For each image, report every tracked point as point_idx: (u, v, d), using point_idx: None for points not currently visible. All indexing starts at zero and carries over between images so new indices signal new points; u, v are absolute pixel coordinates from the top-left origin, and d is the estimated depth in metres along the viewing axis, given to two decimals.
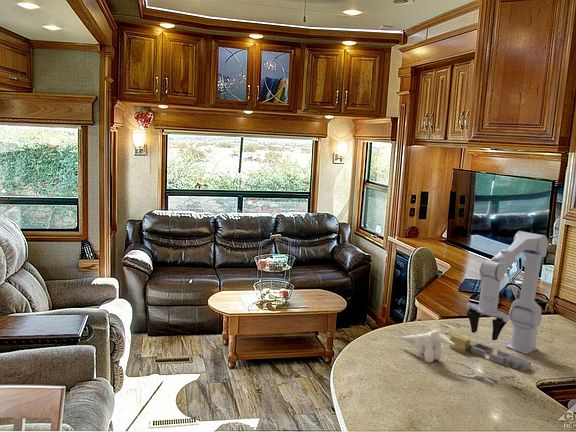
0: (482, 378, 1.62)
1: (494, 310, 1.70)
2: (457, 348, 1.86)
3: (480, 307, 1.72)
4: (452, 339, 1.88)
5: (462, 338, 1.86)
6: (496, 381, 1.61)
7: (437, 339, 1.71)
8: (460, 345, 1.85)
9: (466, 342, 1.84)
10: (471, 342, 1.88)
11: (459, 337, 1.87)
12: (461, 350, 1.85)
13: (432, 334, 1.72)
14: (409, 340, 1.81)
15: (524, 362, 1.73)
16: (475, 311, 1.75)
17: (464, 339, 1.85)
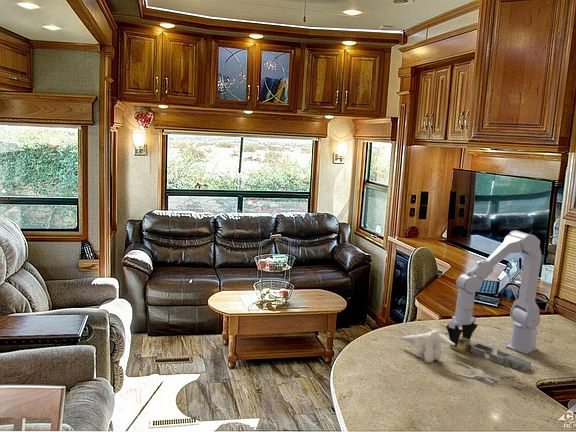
0: (482, 378, 1.62)
1: (457, 318, 1.84)
2: (457, 348, 1.86)
3: None
4: None
5: (462, 338, 1.86)
6: (496, 381, 1.61)
7: (437, 339, 1.71)
8: (460, 345, 1.85)
9: (466, 342, 1.84)
10: (471, 342, 1.88)
11: (459, 337, 1.87)
12: (461, 350, 1.85)
13: (432, 334, 1.72)
14: (409, 340, 1.81)
15: (524, 362, 1.73)
16: None
17: (464, 339, 1.85)
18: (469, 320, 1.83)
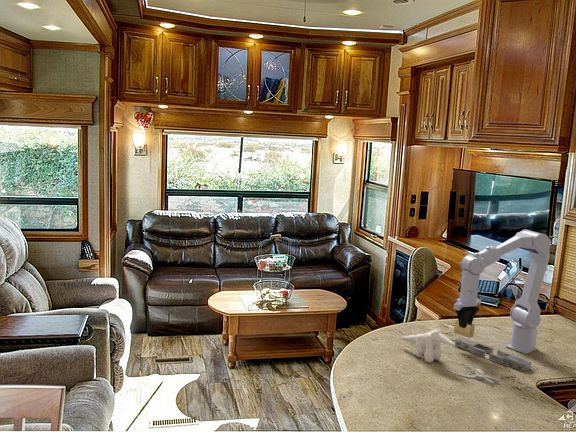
0: (482, 378, 1.62)
1: (462, 300, 1.83)
2: (461, 333, 1.85)
3: None
4: (456, 324, 1.87)
5: None
6: (496, 381, 1.61)
7: (437, 339, 1.71)
8: (465, 329, 1.84)
9: (471, 326, 1.83)
10: (471, 342, 1.88)
11: None
12: (465, 335, 1.84)
13: (432, 334, 1.72)
14: (409, 340, 1.81)
15: (524, 362, 1.73)
16: None
17: (469, 324, 1.84)
18: (474, 302, 1.82)
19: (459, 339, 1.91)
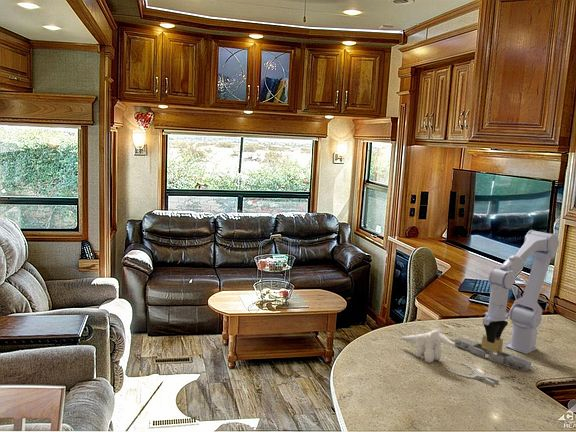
0: (483, 378, 1.62)
1: (490, 315, 1.79)
2: (489, 348, 1.81)
3: None
4: (484, 338, 1.82)
5: (495, 337, 1.81)
6: (497, 381, 1.61)
7: (437, 339, 1.71)
8: (493, 344, 1.80)
9: (499, 341, 1.79)
10: (471, 342, 1.88)
11: None
12: (494, 350, 1.80)
13: (432, 334, 1.72)
14: (409, 340, 1.81)
15: (524, 362, 1.73)
16: None
17: (497, 338, 1.80)
18: (503, 316, 1.78)
19: (459, 339, 1.91)
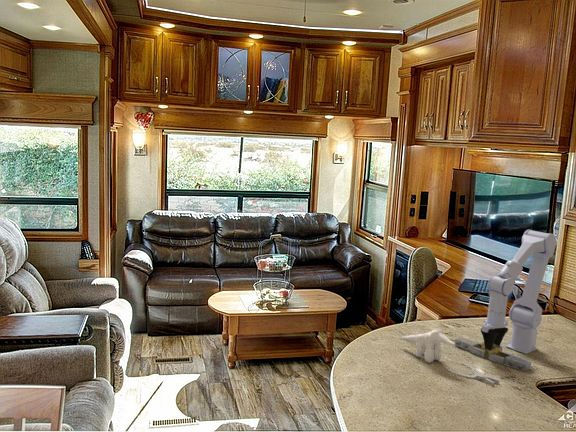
0: (483, 378, 1.62)
1: (490, 322, 1.79)
2: (488, 355, 1.81)
3: None
4: (483, 346, 1.83)
5: (494, 345, 1.81)
6: (497, 381, 1.61)
7: (437, 339, 1.71)
8: (492, 352, 1.80)
9: (498, 349, 1.79)
10: (471, 342, 1.88)
11: None
12: None
13: (432, 334, 1.72)
14: (409, 340, 1.81)
15: (524, 362, 1.73)
16: None
17: (496, 346, 1.81)
18: (502, 323, 1.78)
19: (459, 339, 1.91)
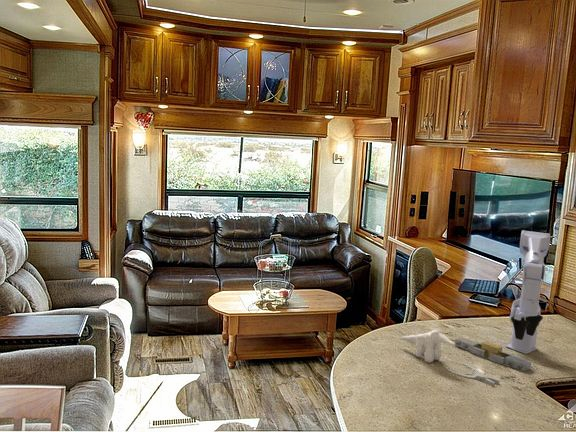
0: (483, 378, 1.62)
1: (522, 310, 1.74)
2: (488, 355, 1.81)
3: None
4: (483, 346, 1.83)
5: (494, 345, 1.81)
6: (497, 381, 1.61)
7: (437, 339, 1.71)
8: (492, 352, 1.80)
9: (498, 349, 1.79)
10: (471, 342, 1.88)
11: (490, 344, 1.82)
12: None
13: (432, 334, 1.72)
14: (409, 340, 1.81)
15: (524, 362, 1.73)
16: None
17: (496, 346, 1.81)
18: (536, 311, 1.73)
19: (459, 339, 1.91)
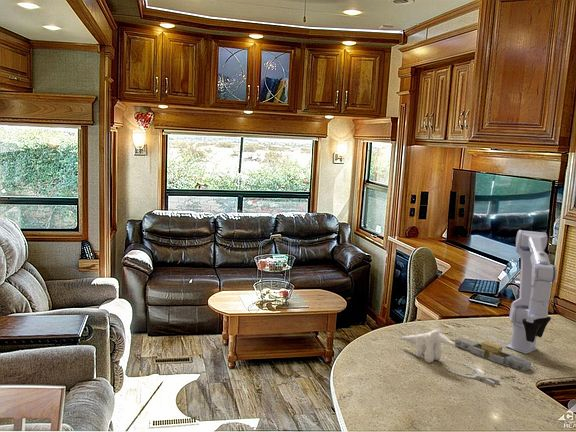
0: (483, 378, 1.62)
1: (533, 312, 1.72)
2: (488, 355, 1.81)
3: None
4: (483, 346, 1.83)
5: (494, 345, 1.81)
6: (497, 381, 1.61)
7: (437, 339, 1.71)
8: (492, 352, 1.80)
9: (498, 349, 1.79)
10: (471, 342, 1.88)
11: (490, 344, 1.82)
12: None
13: (432, 334, 1.72)
14: (409, 340, 1.81)
15: (524, 362, 1.73)
16: None
17: (496, 346, 1.81)
18: (546, 313, 1.71)
19: (459, 339, 1.91)
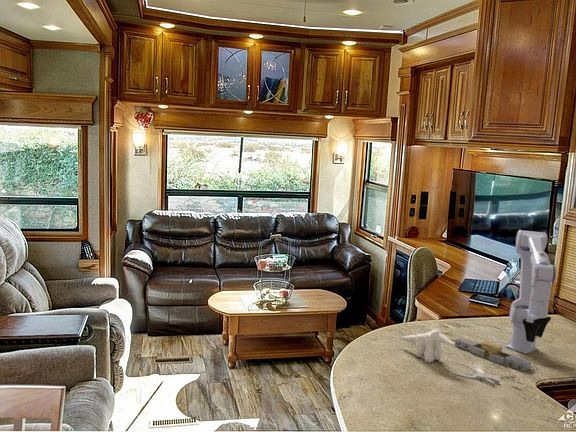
0: (483, 378, 1.62)
1: (533, 312, 1.72)
2: (488, 355, 1.81)
3: None
4: (483, 346, 1.83)
5: (494, 345, 1.81)
6: (497, 381, 1.61)
7: (437, 339, 1.71)
8: (492, 352, 1.80)
9: (498, 349, 1.79)
10: (471, 342, 1.88)
11: (490, 344, 1.82)
12: None
13: (432, 334, 1.72)
14: (409, 340, 1.81)
15: (524, 362, 1.73)
16: None
17: (496, 346, 1.81)
18: (546, 313, 1.71)
19: (459, 339, 1.91)
